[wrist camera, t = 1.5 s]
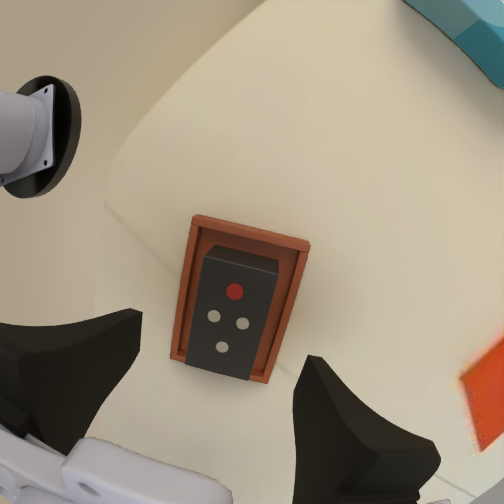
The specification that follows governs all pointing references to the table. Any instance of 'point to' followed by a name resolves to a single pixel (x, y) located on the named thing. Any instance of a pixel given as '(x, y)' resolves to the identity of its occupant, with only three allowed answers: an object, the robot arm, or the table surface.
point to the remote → (230, 311)
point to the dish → (252, 241)
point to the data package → (471, 30)
